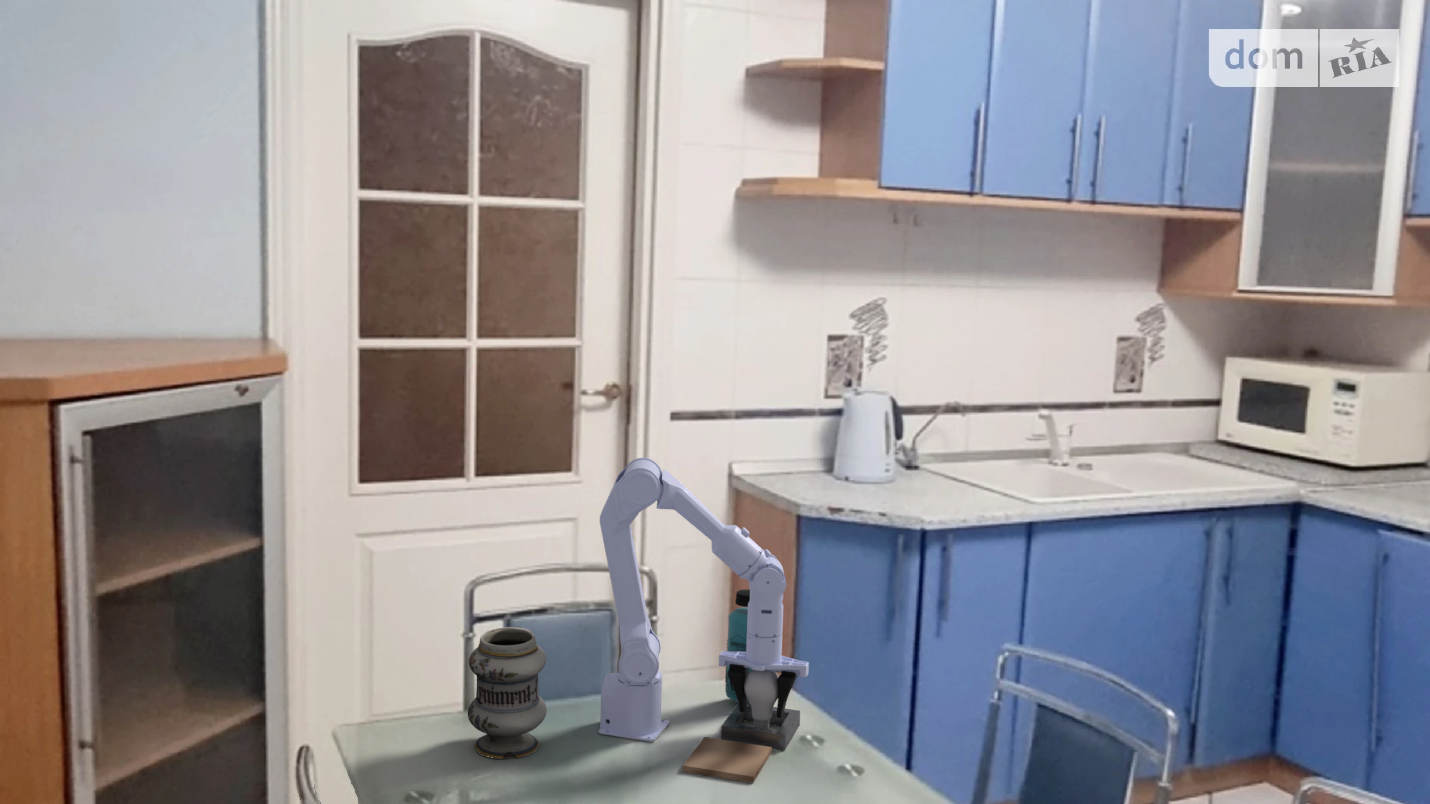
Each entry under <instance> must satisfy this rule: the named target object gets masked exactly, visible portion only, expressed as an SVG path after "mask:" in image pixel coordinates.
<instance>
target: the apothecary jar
mask: <svg viewBox="0 0 1430 804" xmlns="http://www.w3.org/2000/svg"><path fill="white" fill-rule="evenodd" d="M546 662H547V656H546V653H545V651H544V650H543V649H542V647H540V646H539V645H538V644H537V641H536V635H535V633H534V632H532V631H531V630H529V629H527V628H525V627H524V628H523V627H512V626H511V627H510V626H509V627H507V626H506V627H498V628H494V629H490V630H487V631H486V632H483V634H481V636H480V639H479V643H478V646H477V647H476V648H475V649H474V650H473V651H472V652H471V654H470V656H469V659H468V666H469V669H470V671H471V672H472V673H473V674H474V675H475V676H476V689H475V690H476V692H475V694H476V695H475V698H474V699H473V700H472V701H471V703H470V704H469V706H468V709H467V718H468V721H469V723H470V724H471V725H472V726H473V727H474V728H475V729H476V730H478V731H479V732H481V733H484V735H482V736H481V737H479V738H478V739H476V741H475V743H474V750H475V751H476V750H477V751H476V752H477V753H478V754H479V753H480V754H479V755H481V754H482V755H481V756H483V755H484V756H483V757H485V756H489V757H493V758H498V759H497V760H505V759H504V758H507V759H510V757H511V758H512V757H514V758H513V759H519V758H520V757H521V758H524V757H527V756H530V755H531V754H533V753H534V752H536V751H537V750H538V748H539V744H540V743H539V740H538V739H537V738H536V736H534V735H533V734H531V733H530V732H531V731H534V730H535V729H537V728H538V727H539V726H540V725H541V724H542V723H543V722H544V720H545V719H546V716H547V711H548V710H547V705H546V702H545V701H544V699H543V698H542V697H541V696H540V693H539V673H540V672H542V671H543V670H544V668H545V666H546ZM523 756H524V757H523ZM493 758H492V759H493Z"/></svg>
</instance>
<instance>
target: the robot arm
mask: <svg viewBox="0 0 1430 804" xmlns="http://www.w3.org/2000/svg"><path fill="white" fill-rule="evenodd" d="M655 503H656V509H658V510H674V511H675V512H676V513H678V515H680V516H681V517H682V518H684V520H686V521H688V523H690V524H691V525H692V526H693V527H694V528H696V529H697V530H698V532H700V533H701V534H702V535H704V536H705V537H706V538H707V539H708V540H710V541H711V553H713V554H714V555H715V556H716V557H717V558H718V559H719V560H720V561H722V563H724V564H725V565H726V566H727V567H729V569H730V570H732V572H734V573H735V574H736V575H737V576H738V577H739V578H740V579H743V580H746V581H747V582H748V588H749V590H750V601H749V603H748V617H747V646H746V652H729V651H727V650H722V651H721V652H720V653H719V654H718V666H719V667H727V665H728V666H729V671H728V672H727V674H728V678H729V680H730V681H731V683H732V685H733V688H734V690H735V693H736V696H737V700H738V701H737V704H738V705H739V711H740V712H743V713H744V711H745V710H746V708H747V703H748V701H747V696H746V694H745V691H744V681H745V678H746V676H747V675H748V673H749V668H750V669H752V670H758V671H764V670H768V671H772V672H776V673H780V675H778V676H779V677H778V679H777V686H778V699H777V706H776V707H777V718H782V716H783V714H784V710H785V709H786V705H787V702H788V698H789V695H790V693H791V690H792V688H793V686H794V684H795V681H796V680H797V678H798V677H801V678H807V676H808V675H809V668H810V667H809V665H810V663H809V661H804V660H799V659H795V658H791V657H789V656H784V655H783V654H782V652H783V651H782V649H783V629H784V628H783V627H784V626H783V625H784V603H783V601H784V593H785V591H786V588H787V585H788V583H787V582H786V580H787V579H786V576H785V572H784V567H783V565H782V564H781V562H780V561H779V560H778V557H777V556H775V555H773V554H772V553H771V551H769V549H767V548H766V549H763V548H762V547H760V546H759V545H758V544H757V543H756V542H755V541H754V540H753V539H752V538H751V537H750V531H749V530H748V529H747V528H746V527H745V526H743V527H742V528H740V527H739V526H737V525H736V524H730V525H729V524H724V523H723V522H722V521H721V520H720V519H719V518H717V516H716V515H714V514H713V512H711V510H709V508H708V507H706V506H705V505H704V504H703V503H702V502H701V501H700V500H699V499H698V498H697V497H696V496H695V495H694V493H692V492H691V491H690V490H689V489H688V488H687V487H686V485H684V484H683V483H681V482H680V480H678V478H676V477H675V476H674V475H673V474H671V472H669V471H667V470H666V469H664V468H663V469H661V467H660V465H659V464H658V463H657V462H656V461H654V460H653V459H651V458H649V457H638V458H635V459H633V460H631V461H630V462H629V463H628V464H627V465H626V466H625V467H624V468H623V469H622V470H621V471H620V472H619V474H618V475H617V476H616V479H615V481H614V483H613V486H612V488H611V490H610V492H609V495H608V497H607V499H606V501H605V503H604V506H603V507H602V508H601V509H602V510H601V512H600V515H599V525H600V530H601V535H602V536H601V537H602V541H603V547H604V551H605V556H606V562H607V567H608V572H609V577H610V578H609V579H610V582H611V584H610V585H611V589H612V593H613V598H614V604H615V608H616V614H617V620H618V624H619V639H620V640H619V641H620V648H621V654H620V658H619V661H618V671H617V672H609V673H608V674H607V675H606V676H605V678H604V680H603V683H602V686H601V690H600V691H601V693H600V723H599V724H600V726H599V727H600V728H599V729H598V734H600V735H607V736H611V737H613V736H614V737H620V738H626V739H632V740H637V741H639V740H640V741H644V742H654V741H656V739H657V738H658V737H659V736H660V735H661V733H663V731H664V730H665V729H666V728H667V727H668V726H669V724H670V721H669V720H667V719H662V693H663V692H662V689H663V687H662V686H663V673H662V671H660V670H659V668H660V663H659V656H660V654H661V641H660V639H659V637H658V636H657V635H656V634H655V632H654V631H653V628H652V625H651V620H650V618H649V615H648V610H647V605H646V600H645V595H644V590H643V584H642V580H641V573H640V569H639V563H638V558H637V552H636V547H635V541H634V536H633V532H632V531H633V530H632V525H631V524H632V523H633V522H634V520H635V519H636V518H637V516H638V515H639V514H640V512H642V511H644V510H645V509H647V508H648V507H649V508H650V507H651V506H652V505H653V504H655Z"/></svg>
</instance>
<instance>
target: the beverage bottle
mask: <svg viewBox="0 0 1430 804" xmlns="http://www.w3.org/2000/svg"><path fill="white" fill-rule="evenodd" d="M735 594H736V595H735V596H736V597H735V604H736V605H737V606H738V607H737V608H735V609H734V610H733V611H732V612H730V613H729V614H728V631H727V632H728V633H727V635H728V636H727V641H726V642H727V644H726V645H727V647H726V648H727V649H726V651H729V652H746V646H747V617H748V603H749V601H750V588H749V589H747V588H746V589H740V590H737V591H736V593H735ZM739 606H740V607H739ZM751 670H752V669H750V668H749V672H750V671H751ZM728 671H729V666H728V665H726V666H725V678H724V679H725V681H724V684H725V695H726V696H727V698H728V699H730V700H733V701H736V702H738V700H737V696H736V693H735V690H734V688H733V685H732V683H731V681H730V680H729V678H728V674H727V672H728ZM747 702H749V700H748V698H747Z"/></svg>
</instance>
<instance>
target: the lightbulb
mask: <svg viewBox="0 0 1430 804" xmlns="http://www.w3.org/2000/svg"><path fill="white" fill-rule="evenodd" d="M779 676H780V675H779V674H778V672H772V671H768V670H764V671H758V670H751V671H750V672H749V673H748V675H747V676H746V678H745V681H744V691H745V694H746V696H747V698H748V700H749V701H748V702H749V703H750V704H751V709H752V717H753V722H752V723H753V727H760V728H766V729H770V724H769V722H770V718H771V714H772V709H773V707H775V706H774V705H775V704H776V702H777V701H778V686H777V679H778V677H779Z"/></svg>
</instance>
